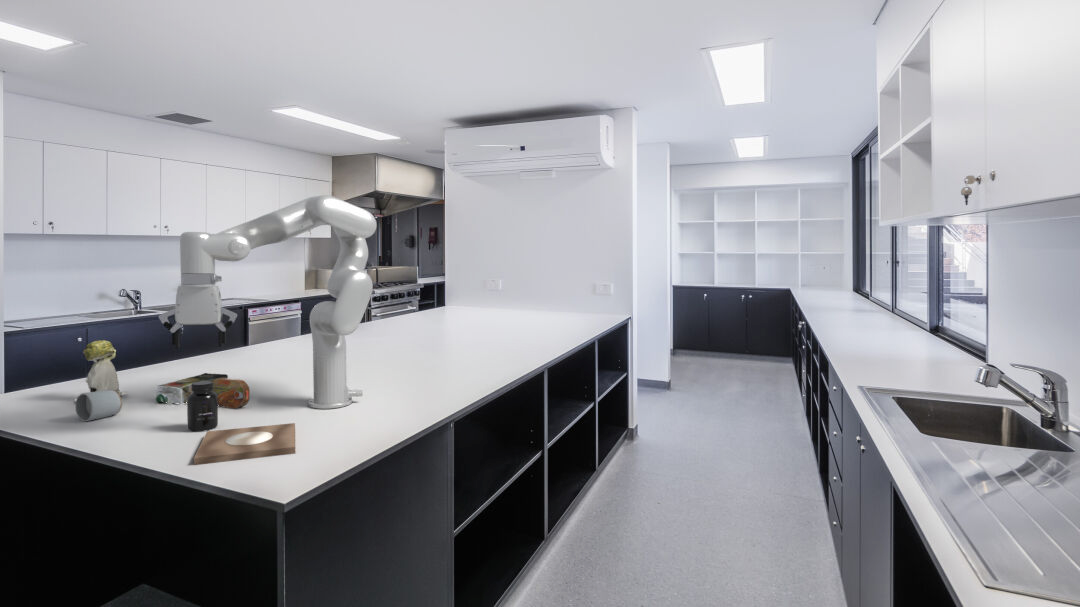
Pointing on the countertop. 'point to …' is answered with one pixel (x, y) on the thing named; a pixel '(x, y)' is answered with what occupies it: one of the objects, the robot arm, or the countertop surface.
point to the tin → (231, 392)
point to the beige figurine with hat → (101, 367)
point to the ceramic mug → (98, 405)
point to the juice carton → (182, 388)
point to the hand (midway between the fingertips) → (199, 346)
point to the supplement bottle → (202, 407)
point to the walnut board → (246, 443)
